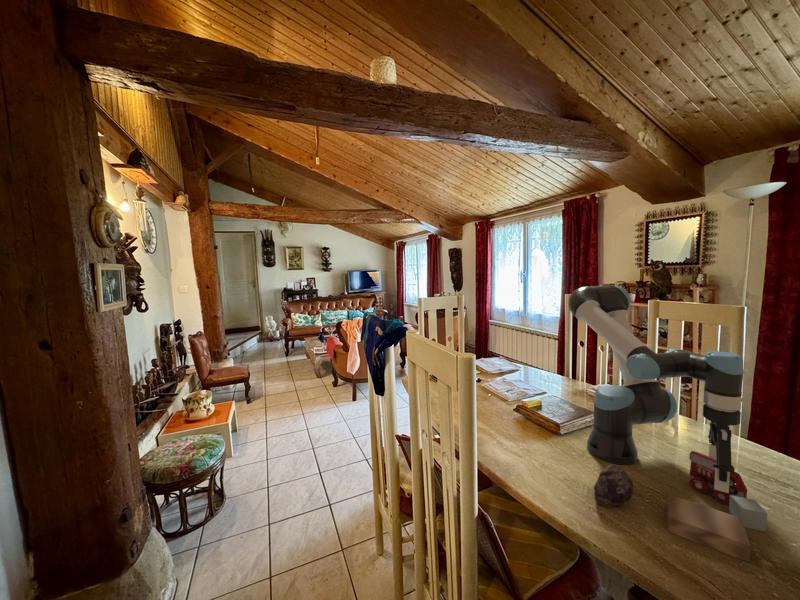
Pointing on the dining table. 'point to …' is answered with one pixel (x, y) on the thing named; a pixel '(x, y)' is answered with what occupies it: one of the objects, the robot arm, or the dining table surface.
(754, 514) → the grey cube
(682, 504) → the pedestal
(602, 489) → the rock
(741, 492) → the toy fire truck
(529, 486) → the dining table surface
